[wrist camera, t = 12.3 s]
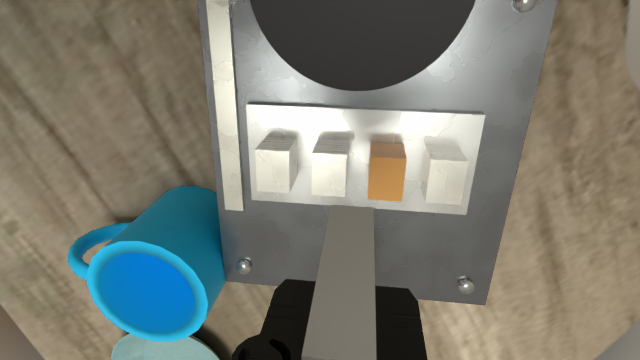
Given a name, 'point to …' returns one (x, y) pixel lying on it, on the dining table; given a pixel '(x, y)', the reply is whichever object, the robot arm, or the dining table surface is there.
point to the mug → (157, 266)
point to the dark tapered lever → (360, 37)
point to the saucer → (162, 349)
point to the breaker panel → (354, 151)
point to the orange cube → (386, 171)
